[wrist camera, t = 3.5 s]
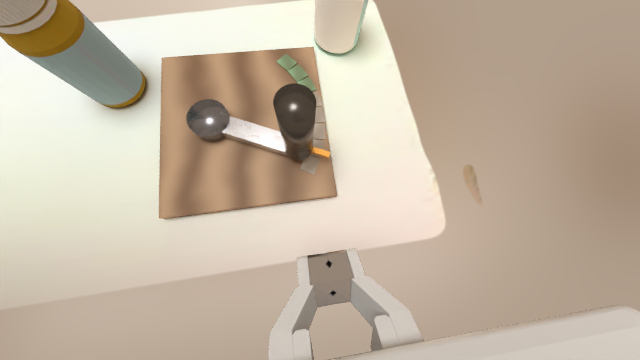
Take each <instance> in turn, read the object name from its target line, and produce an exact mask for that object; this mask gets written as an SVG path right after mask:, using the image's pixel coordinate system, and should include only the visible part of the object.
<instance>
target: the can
mask: <svg viewBox="0 0 640 360" xmlns="http://www.w3.org/2000/svg"><path fill="white" fill-rule="evenodd" d="M367 3H368V0H315V21H314V37H315V40H316V42H317V44H318V45H319V46H320V47H321V48H322V49H324V50H326V51H328V52H331V53H344V52H347V51H349V50H351V49H352V48H353V47H354V46H355V45H356V43H357V41H358V37H359V34H360V30H361V26H362V22H363V18H364V15H365V11H366V7H367Z"/></svg>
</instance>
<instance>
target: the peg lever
mask: <svg viewBox="0 0 640 360" xmlns="http://www.w3.org/2000/svg"><path fill="white" fill-rule="evenodd" d="M273 106H274V110H275V114H276V117H277V121H278V125H279V129H280V131H276V130H273V129H270V128H267V127H263V126H260V125H257V124H254V123H250V122H247V121H244V120H241V119H237V118H234V117H231V116H230V114H229V113H228V111H227V109H226V108H225V106H224V105H223V104H222V103H220V102H219V101H216V100H213V99H205V100H201V101H198V102H196V103H195V104H194V105H193V106H192V107H191V108H190V109H189V111H188V113H187V117H186V120H187V124H188V126H189V128H190V129H191V130H192V131H193V132H194V133H195V134H196V135H197V136H198V137H199V138H201V139H202V140H205V141H208V142H216V141H220V140H222V139H224V138H225V137H227V138H231V139H234V140H237V141H240V142H244V143H247V144H250V145H253V146H256V147H260V148H263V149H266V150H269V151H272V152H276V153H279V154H282V155H285V156H289V157H290V158H292V159H294V160H301V161H304V159H306V158H308V157H309V156H310V155H311V153H312V154H315V155H318V156H321V157H325V158H329V155H330V152H329V151H326V150H322V149H319V148H316V147H313V142H314V128H315V115H316V98H315V95H314V93H313V92H312V91H311V90H310V89H309V88H308V87H306V86H304V85H302V84H297V83H292V84H287V85H285V86H283V87H281V88H280V89H279V90H278V91H277V92H276V94H275V96H274V99H273Z"/></svg>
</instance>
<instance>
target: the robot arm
mask: <svg viewBox="0 0 640 360" xmlns="http://www.w3.org/2000/svg"><path fill="white" fill-rule="evenodd" d="M297 269H298V270H297V271H298V287H297V288H295V290H294V291H293V293H292V295H291V297H290V299H289V300H288V302H287V304H286V306H285V308H284V310H283V311H282V313H281V315H280V316H279V318H278V320H277V322H276V323H275V325H274V327H273V329H272V331H271V332H270V335H269V354H268V360H314V357H313V352H312V345H311V340H310V334H309V331H308V330H309V327H310V325H311V322H312V320H313V317H314V315H315V312H316V309H317V307H322V306H327V305H332V304H338V303H345V302H351V303H352V304H353V306H354V307H355V308H356V309H357V310H358V311H359V312H360V314H361V315H362V316H363V317H364V318H365V319H366V320H367V322H368V323H369V324H370V325H371V326H372V327H373V333H372V341H371V350H372V351H371V352H366V353H361V354H355V355H350V356H345V357H340V358H334V359H329V360H640V311H638V310H636V309H633V308H630V307H628V306H624V305H611V306H606V307H601V308H596V309H591V310H585V311H580V312H575V313H570V314H564V315H559V316H555V317H549V318H544V319H538V320H533V321H528V322H523V323H517V324H512V325H507V326H502V327H497V328H492V329H486V330H481V331H476V332H470V333H465V334H460V335H455V336H449V337H444V338H439V339H434V340H429V341H424V340H423V338H422V336H421V334H420V332H419V330H418V327H417V326H416V323H415V321H414V319H413V317H412V314H411V312H410V310H409V309H408V308H407V307H405V306H404V305H403V304H402V303H401V302H400V301H398V300H397V299H396V298H395V297H394V296H392V295H391V294H390V293H389V292H387V291H386V290H385V289H384V288H383V287H382V286H380V285H379V284H378V283H377V282H376V281H374V280H373V279H372V278H371V277H370V276H366V275H365V273H364V270H363V267H362V264H361V261H360V258H359V255H358V253H357V250H356V249H348V250H341V251H335V252H329V253H324V254H316V255H308V256H301V257H297Z"/></svg>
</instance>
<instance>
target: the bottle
mask: <svg viewBox="0 0 640 360" xmlns="http://www.w3.org/2000/svg"><path fill="white" fill-rule="evenodd" d="M0 36H1V37H2V38H3V39H4V40H5V42H6V43H7V44H8V45H9V46H11V47H12V48H14V49H15V50H17V51H18V52H20V53H21V54H23V55H24V56H26V57H27V58H29V59H31V60H32V61H34V62H35V63H37V64H38V65H40V66H42V67H43V68H45V69H46V70H48V71H50V72H51V73H53V74H54V75H56V76H57V77H59V78H61V79H62V80H64V81H65V82H67V83H69V84H70V85H72V86H73V87H75V88H76V89H78V90H80V91H81V92H83V93H84V94H86V95H87V96H89V97H91V98H92V99H94V100H95V101H97V102H99V103H101V104H103V105H105V106H107V107H123V106H127V105H130V104H132V103H134V102H135V101H137V100H138V99H139V98H140V96H141V95H142V94H143V91H144V88H145V77H144V75H143V73H142V72H141V71H140V70H139V69H138V68H137V67H136V66H135V65H134V64H133V63H132V62H131V61H130V60H129V59H128V58H127V57H126V56H125V55H124V54H123V53H122V52H121V51H120V50H119V49H118V48H117V47H116V46H115V45H114V44H113V43H112V42H111V41H110V40H109V39H108V38H107V37H106V36H105V35H104V34H103V33H102V32H101V31H100V30H99V29H98V28H97V27H96V26H95V25H94V24H93V23H92V22H91V21H90V20H89V19H88V18H87V17H86V16H85V15H84V14H83V13H82V12H80V10H79V9H78V8H77V7H75V6H74V5H73V4H72V3H71V2H70V1H69V0H0Z"/></svg>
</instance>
